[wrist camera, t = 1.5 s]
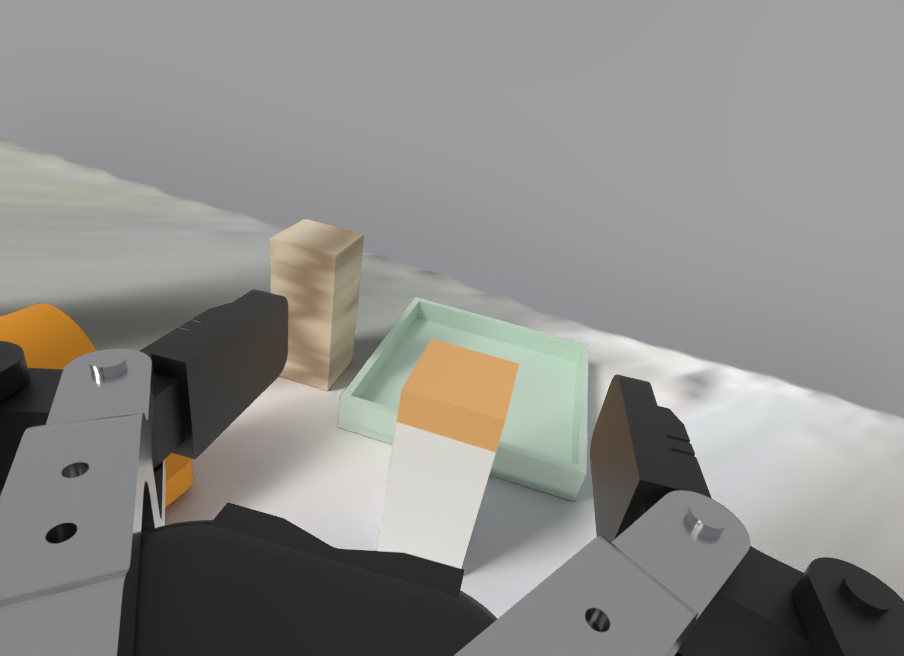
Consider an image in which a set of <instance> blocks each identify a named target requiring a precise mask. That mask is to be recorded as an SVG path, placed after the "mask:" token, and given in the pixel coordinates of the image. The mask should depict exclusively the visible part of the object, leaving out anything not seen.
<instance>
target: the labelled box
mask: <svg viewBox="0 0 904 656" xmlns="http://www.w3.org/2000/svg"><path fill="white" fill-rule="evenodd" d="M518 367H519V363H515V362H512V361H508V360H505V359H501V358H498V357H494V356H491V355H487V354H484V353H480V352H477V351H473V350H470V349H466V348H463V347H459V346H456V345H452V344H449V343H445V342H442V341H438V340H434V339H431V340H430V341H429V343H428V345H427V346H426V348H425V350H424V352H423V353H422V355H421V357H420V359H419V360H418V362H417V364H416V365H415V367H414V369H413V371H412V372H411V374H410V376H409V377H408V379H407V381H406V383H405V384H404V386H403V388H402V390H401V396H400V403H399V409H398V416H397V422H396V428H395V435H394V441H393V448H392V454H391V461H390V467H389V474H388V480H387V487H386V493H385V500H384V506H383V513H382V519H381V526H380V532H379V538H378V545H377V551H383V552H402V553H407V554H411V555H414V556H418V557H421V558H425V559H428V560H432V561H435V562H439V563H442V564H446V565H449V566H453V567H456V568H460V569H461V568H462V565H463V561H464V558H465V555H466V551H467V548H468V544H469V541H470V538H471V534H472V531H473V528H474V524H475V521H476V518H477V514H478V511H479V508H480V504H481V501H482V498H483V494H484V491H485V487H486V484H487V481H488V477H489V474H490V471H491V467H492V464H493V461H494V457H495V454H496V451H497V447H498V444H499V441H500V437H501V434H502V430H503V427H504V424H505V420H506V416H507V412H508V408H509V404H510V400H511V396H512V391H513V387H514V383H515V379H516V375H517V371H518Z"/></svg>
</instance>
